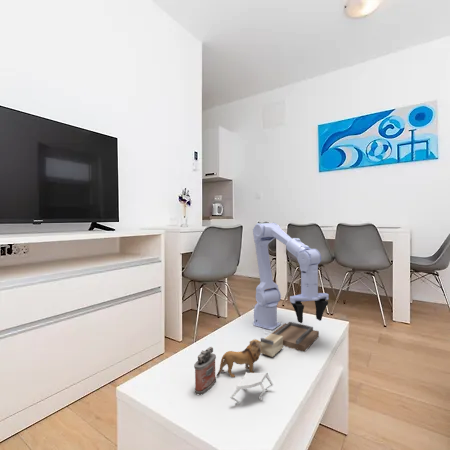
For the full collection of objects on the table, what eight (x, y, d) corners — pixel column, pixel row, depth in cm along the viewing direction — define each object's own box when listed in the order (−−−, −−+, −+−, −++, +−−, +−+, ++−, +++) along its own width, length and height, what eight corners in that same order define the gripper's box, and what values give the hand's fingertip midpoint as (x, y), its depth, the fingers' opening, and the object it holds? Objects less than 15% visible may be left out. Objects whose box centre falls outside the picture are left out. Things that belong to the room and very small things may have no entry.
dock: (268, 341, 103) (268, 332, 103) (285, 328, 115) (285, 320, 115) (304, 351, 94) (304, 342, 94) (318, 336, 106) (318, 328, 106)
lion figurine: (257, 363, 88) (257, 335, 87) (265, 372, 83) (265, 342, 82) (213, 373, 82) (213, 343, 82) (219, 383, 77) (219, 351, 77)
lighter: (201, 396, 72) (201, 359, 71) (191, 392, 73) (191, 355, 73) (218, 380, 78) (218, 346, 78) (209, 377, 80) (208, 343, 80)
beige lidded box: (260, 354, 93) (260, 338, 93) (271, 345, 99) (271, 330, 99) (272, 358, 90) (272, 342, 90) (283, 349, 96) (282, 333, 96)
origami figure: (248, 380, 78) (248, 363, 78) (274, 392, 73) (274, 374, 73) (222, 403, 69) (221, 383, 69) (249, 418, 64) (249, 397, 64)
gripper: (297, 287, 92) (297, 327, 92) (334, 284, 96) (334, 322, 96) (286, 282, 99) (287, 319, 99) (321, 279, 102) (321, 315, 103)
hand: (309, 320), depth 98 cm, fingers open, 7 cm apart
